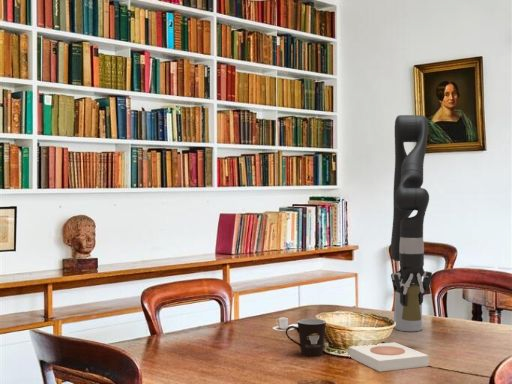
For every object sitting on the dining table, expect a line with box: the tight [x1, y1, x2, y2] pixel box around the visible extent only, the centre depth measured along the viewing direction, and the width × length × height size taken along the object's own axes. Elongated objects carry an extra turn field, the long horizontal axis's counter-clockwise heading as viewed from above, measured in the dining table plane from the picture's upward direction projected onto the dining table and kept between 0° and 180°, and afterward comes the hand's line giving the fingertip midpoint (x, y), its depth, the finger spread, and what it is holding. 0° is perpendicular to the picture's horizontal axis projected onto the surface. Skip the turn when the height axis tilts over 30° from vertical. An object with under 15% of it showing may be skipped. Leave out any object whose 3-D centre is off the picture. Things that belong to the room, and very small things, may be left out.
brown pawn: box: [402, 284, 421, 321], centre depth 230 cm, size 6×6×11 cm
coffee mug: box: [285, 318, 327, 358], centre depth 223 cm, size 12×9×10 cm
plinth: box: [348, 341, 430, 373], centre depth 213 cm, size 18×16×3 cm
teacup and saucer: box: [272, 316, 298, 332], centre depth 260 cm, size 9×8×4 cm
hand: (411, 304), depth 230 cm, fingers closed on brown pawn, 5 cm apart
